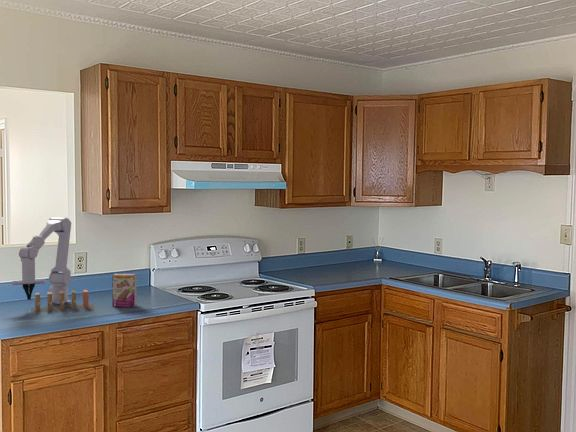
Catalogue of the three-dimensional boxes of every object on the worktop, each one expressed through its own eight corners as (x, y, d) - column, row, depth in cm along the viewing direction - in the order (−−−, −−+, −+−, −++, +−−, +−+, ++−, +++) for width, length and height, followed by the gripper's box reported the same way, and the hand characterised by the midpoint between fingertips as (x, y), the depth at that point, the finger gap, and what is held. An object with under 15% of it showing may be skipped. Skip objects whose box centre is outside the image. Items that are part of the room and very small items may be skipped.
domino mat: (30, 314, 277) (30, 313, 277) (31, 308, 288) (31, 307, 288) (94, 309, 287) (94, 308, 287) (93, 304, 298) (93, 303, 298)
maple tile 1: (35, 311, 281) (34, 294, 280) (35, 308, 285) (35, 292, 285) (39, 310, 282) (39, 294, 281) (40, 308, 286) (40, 292, 286)
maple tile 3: (59, 309, 285) (59, 293, 284) (60, 307, 289) (59, 291, 289) (64, 309, 285) (63, 293, 285) (64, 307, 290) (64, 291, 289)
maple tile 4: (71, 308, 287) (71, 292, 286) (71, 306, 291) (71, 290, 291) (76, 308, 287) (75, 292, 287) (76, 306, 292) (75, 290, 291)
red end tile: (84, 307, 288) (84, 291, 288) (83, 305, 293) (82, 290, 292) (88, 307, 289) (88, 291, 289) (87, 305, 294) (87, 289, 293)
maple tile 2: (47, 310, 283) (47, 294, 282) (48, 308, 287) (47, 292, 287) (52, 310, 283) (51, 293, 283) (52, 307, 288) (52, 291, 288)
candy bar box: (112, 307, 292) (111, 275, 291) (114, 305, 297) (114, 273, 296) (134, 307, 293) (134, 275, 292) (136, 305, 298) (136, 273, 297)
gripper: (11, 273, 275) (11, 302, 276) (44, 272, 280) (45, 300, 281) (12, 271, 281) (13, 299, 282) (45, 269, 286) (45, 297, 287)
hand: (29, 299), depth 282 cm, fingers closed
